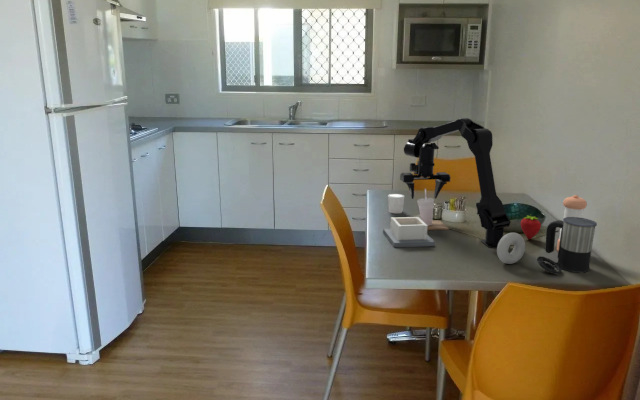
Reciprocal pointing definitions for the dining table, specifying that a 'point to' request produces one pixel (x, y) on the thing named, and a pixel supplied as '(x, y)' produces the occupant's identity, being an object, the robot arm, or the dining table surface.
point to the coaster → (437, 226)
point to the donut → (505, 244)
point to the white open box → (408, 232)
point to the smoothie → (426, 209)
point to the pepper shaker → (573, 209)
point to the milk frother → (570, 245)
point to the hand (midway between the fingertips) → (423, 198)
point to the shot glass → (395, 203)
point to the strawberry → (530, 226)
